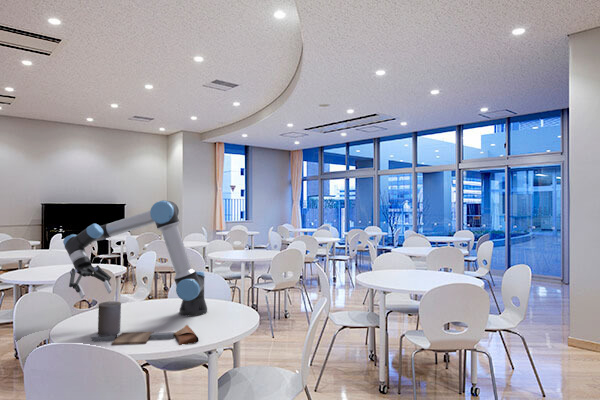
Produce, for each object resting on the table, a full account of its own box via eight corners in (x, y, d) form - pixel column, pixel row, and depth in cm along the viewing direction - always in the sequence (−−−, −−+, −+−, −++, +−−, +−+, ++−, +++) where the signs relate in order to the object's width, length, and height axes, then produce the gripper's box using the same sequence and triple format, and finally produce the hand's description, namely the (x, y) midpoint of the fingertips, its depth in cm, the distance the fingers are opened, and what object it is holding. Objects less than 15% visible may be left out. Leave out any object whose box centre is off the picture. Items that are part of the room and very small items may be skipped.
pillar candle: (92, 334, 187) (93, 302, 187) (109, 328, 196) (110, 297, 196) (109, 337, 184) (109, 304, 184) (125, 331, 193) (125, 299, 193)
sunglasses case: (170, 334, 188) (178, 320, 190) (183, 339, 191) (191, 326, 192) (179, 345, 172) (187, 330, 174) (193, 351, 175) (201, 337, 177)
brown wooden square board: (153, 333, 188) (153, 331, 188) (145, 343, 174) (145, 341, 174) (122, 334, 187) (122, 332, 187) (111, 344, 173) (111, 342, 173)
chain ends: (174, 336, 184) (174, 332, 184) (173, 338, 181) (173, 334, 181) (93, 339, 180) (93, 334, 180) (91, 341, 177) (91, 337, 177)
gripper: (101, 263, 216) (117, 294, 208) (52, 268, 195) (67, 304, 187) (107, 253, 214) (123, 285, 205) (57, 258, 193) (74, 293, 184)
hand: (97, 294), depth 196 cm, fingers open, 13 cm apart
